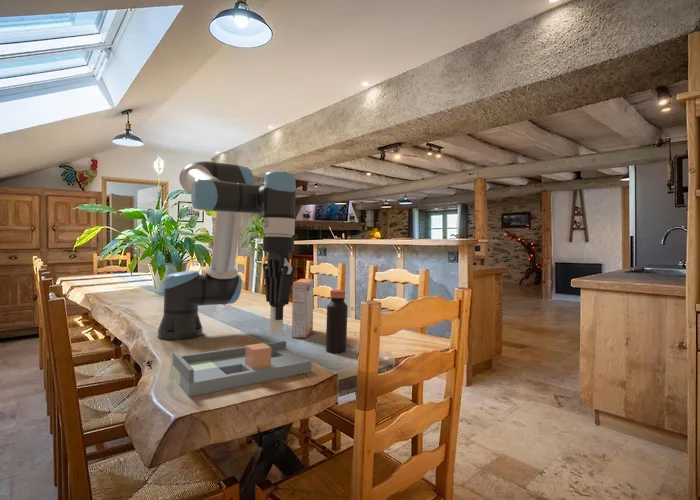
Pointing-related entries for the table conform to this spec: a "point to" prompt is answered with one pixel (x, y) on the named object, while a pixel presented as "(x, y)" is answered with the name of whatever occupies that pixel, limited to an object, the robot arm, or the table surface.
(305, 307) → the cracker box
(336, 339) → the bottle
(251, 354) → the terracotta block
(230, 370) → the board
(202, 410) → the table surface
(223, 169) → the robot arm
